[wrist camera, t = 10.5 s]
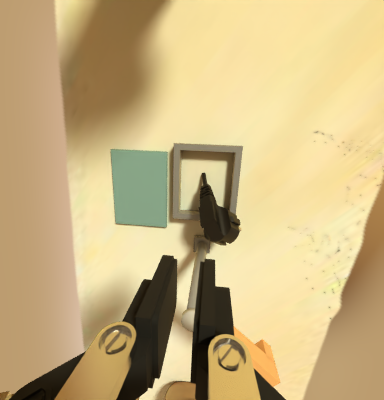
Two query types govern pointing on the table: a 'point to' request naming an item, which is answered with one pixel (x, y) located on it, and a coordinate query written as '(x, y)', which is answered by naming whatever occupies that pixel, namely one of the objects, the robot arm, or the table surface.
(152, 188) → the mat
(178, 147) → the plug dock
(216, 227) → the power plug
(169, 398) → the shoulder bag
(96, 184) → the table surface
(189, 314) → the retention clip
